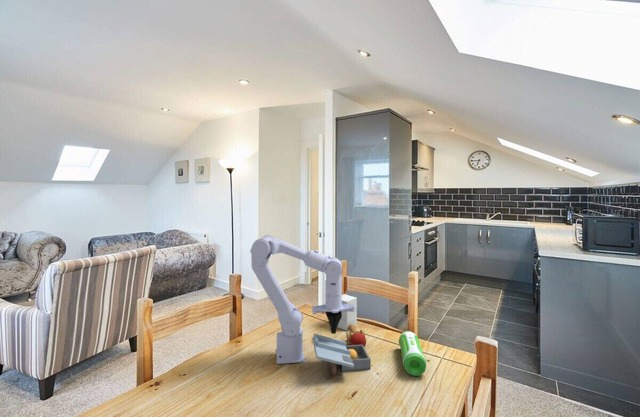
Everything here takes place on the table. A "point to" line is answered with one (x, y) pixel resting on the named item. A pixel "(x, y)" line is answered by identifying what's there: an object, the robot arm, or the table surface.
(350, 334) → the kendama
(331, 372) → the stand
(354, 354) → the ball
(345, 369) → the grey open box
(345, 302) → the supplement box
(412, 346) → the speaker
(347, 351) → the light blue flat piece
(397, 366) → the table surface
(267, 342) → the table surface
